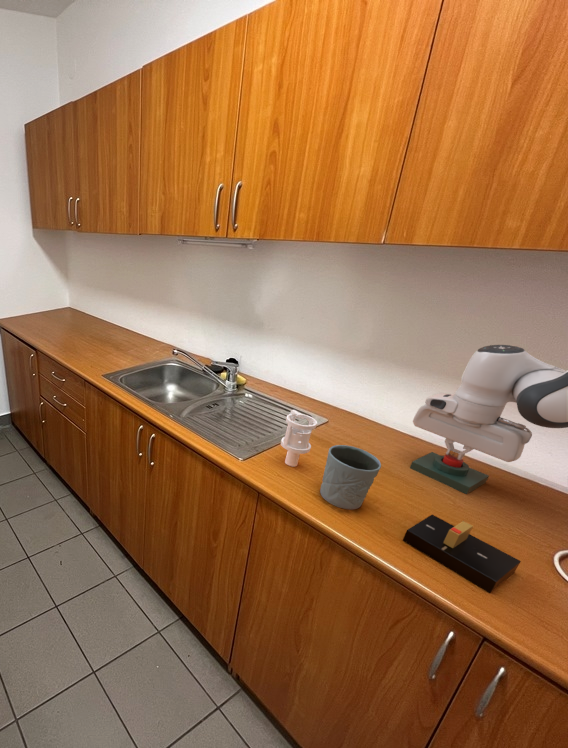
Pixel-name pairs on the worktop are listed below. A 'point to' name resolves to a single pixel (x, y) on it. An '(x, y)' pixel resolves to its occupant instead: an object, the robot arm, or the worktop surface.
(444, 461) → the button
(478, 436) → the robot arm
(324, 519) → the worktop surface
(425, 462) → the switch box
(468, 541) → the lock plate
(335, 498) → the grey plant pot
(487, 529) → the worktop surface
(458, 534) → the lock knob
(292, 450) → the strainer
